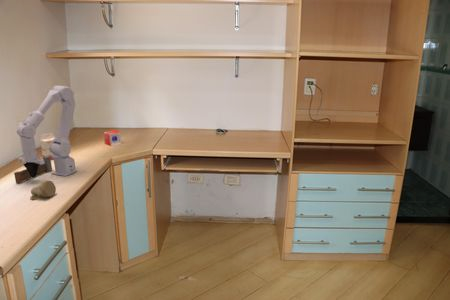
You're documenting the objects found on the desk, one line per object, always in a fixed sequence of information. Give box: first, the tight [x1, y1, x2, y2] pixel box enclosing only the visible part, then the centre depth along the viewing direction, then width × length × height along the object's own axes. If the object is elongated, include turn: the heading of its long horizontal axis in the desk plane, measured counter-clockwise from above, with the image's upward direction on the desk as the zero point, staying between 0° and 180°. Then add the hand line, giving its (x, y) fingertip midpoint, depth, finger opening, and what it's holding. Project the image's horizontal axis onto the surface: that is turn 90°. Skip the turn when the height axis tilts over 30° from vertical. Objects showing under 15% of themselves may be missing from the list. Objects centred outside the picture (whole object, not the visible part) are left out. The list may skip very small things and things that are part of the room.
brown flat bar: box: [13, 164, 48, 184], centre depth 178 cm, size 1×17×5 cm, turn 159°
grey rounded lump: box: [29, 180, 57, 201], centre depth 157 cm, size 8×10×10 cm
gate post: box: [41, 156, 53, 173], centre depth 187 cm, size 3×3×8 cm
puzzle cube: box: [103, 129, 123, 147], centre depth 237 cm, size 8×8×8 cm
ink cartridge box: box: [39, 132, 56, 161], centre depth 206 cm, size 9×5×15 cm, turn 141°
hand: (34, 176), depth 174 cm, fingers closed
